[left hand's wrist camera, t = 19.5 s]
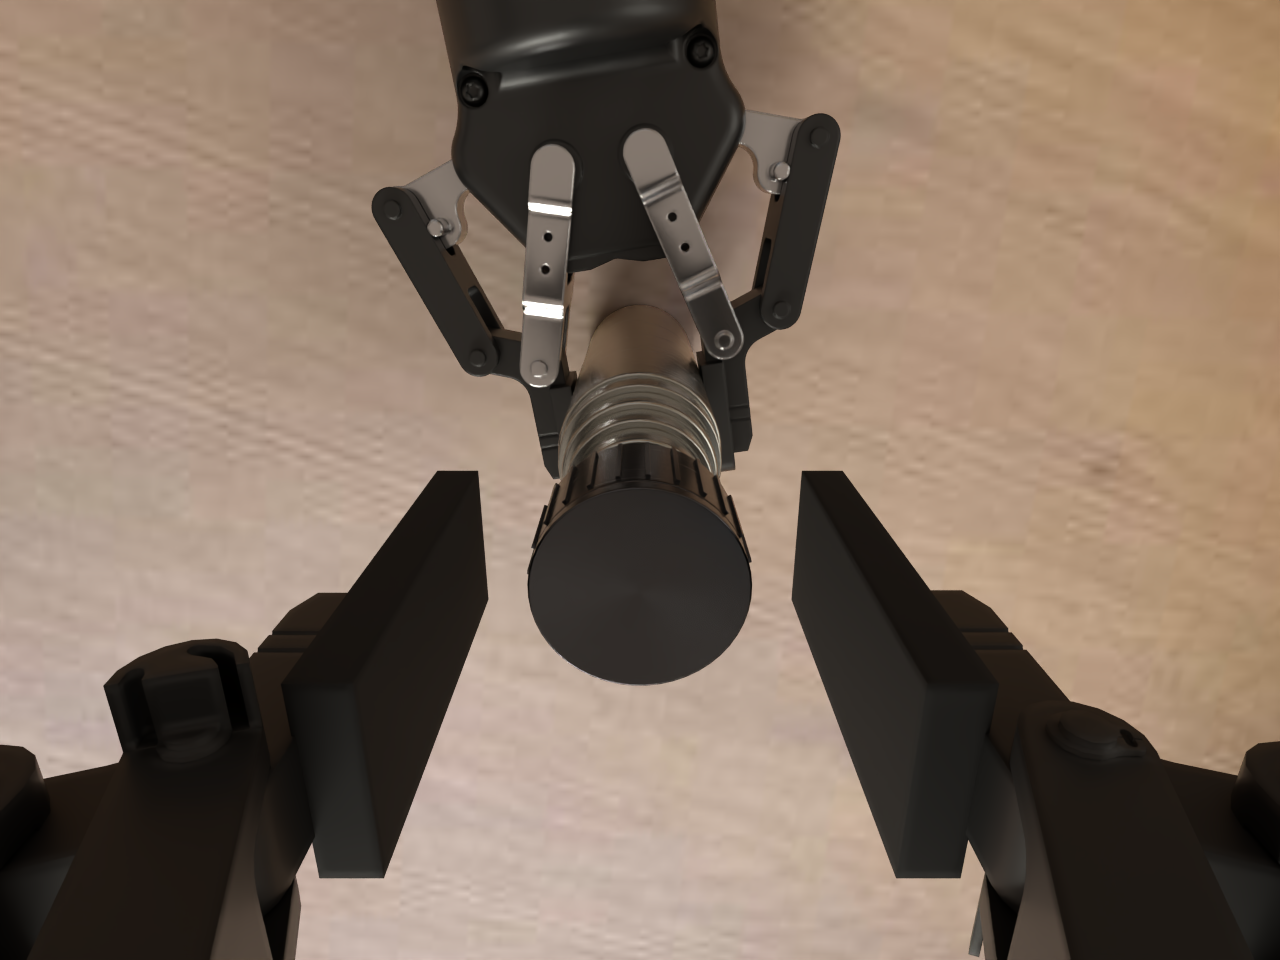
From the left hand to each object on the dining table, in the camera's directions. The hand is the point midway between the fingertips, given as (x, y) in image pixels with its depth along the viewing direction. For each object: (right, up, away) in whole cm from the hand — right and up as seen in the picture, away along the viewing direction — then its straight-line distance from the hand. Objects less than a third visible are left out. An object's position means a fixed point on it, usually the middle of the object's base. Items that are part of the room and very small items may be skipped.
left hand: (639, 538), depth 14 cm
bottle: (0, +6, +16) cm, 17 cm away
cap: (0, -1, -2) cm, 2 cm away
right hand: (0, +1, +11) cm, 11 cm away
